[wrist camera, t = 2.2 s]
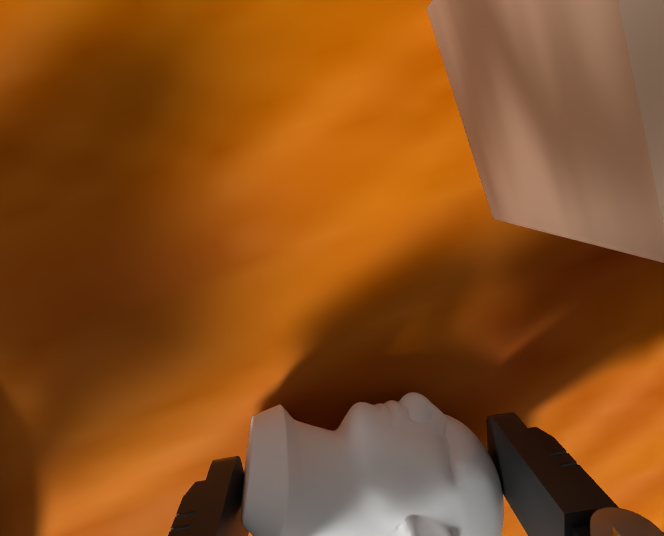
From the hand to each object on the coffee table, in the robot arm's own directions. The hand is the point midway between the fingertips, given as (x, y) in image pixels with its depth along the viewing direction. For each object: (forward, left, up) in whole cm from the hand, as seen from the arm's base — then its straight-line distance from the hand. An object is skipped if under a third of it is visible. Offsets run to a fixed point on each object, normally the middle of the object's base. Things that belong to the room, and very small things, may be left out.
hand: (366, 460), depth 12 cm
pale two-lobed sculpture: (0, 0, -2) cm, 2 cm away
